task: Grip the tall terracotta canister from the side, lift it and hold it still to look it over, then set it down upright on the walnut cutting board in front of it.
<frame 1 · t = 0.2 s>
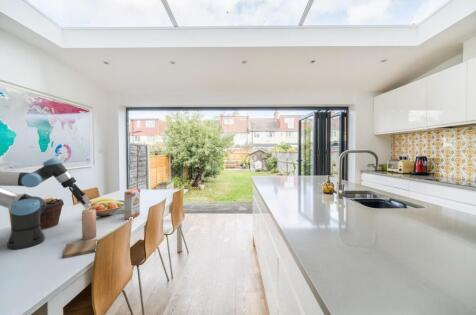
hand: (88, 205, 148), 15 cm above the table, tool tilted 35°, fingers open, 13 cm apart
grey carved relief: (123, 212, 186), on the table
cracker box: (132, 217, 173), on the table
brown tapered bucket: (46, 225, 150), on the table
cutting board: (81, 249, 117), on the table
terracotta canister: (89, 237, 132), on the table
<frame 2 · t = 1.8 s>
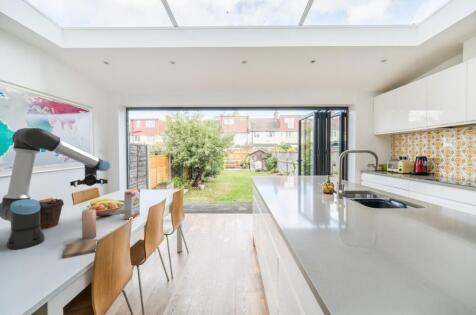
hand: (89, 184, 139), 30 cm above the table, tool horizontal, fingers open, 13 cm apart
nothing on the table moved.
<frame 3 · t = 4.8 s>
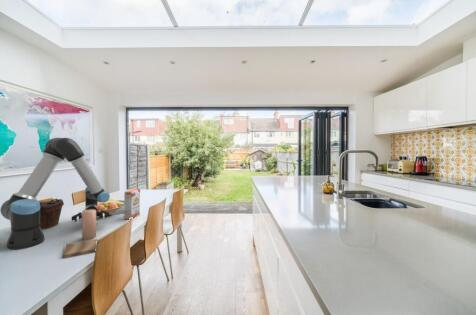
hand: (90, 219, 138), 9 cm above the table, tool horizontal, fingers open, 13 cm apart
nothing on the table moved.
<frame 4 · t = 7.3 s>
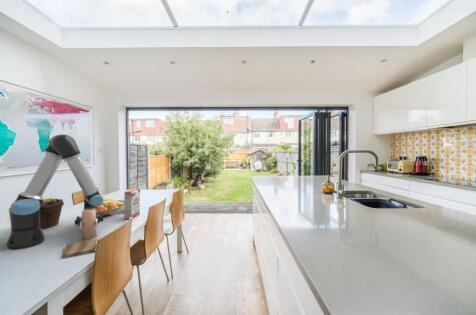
hand: (88, 225, 128), 9 cm above the table, tool horizontal, fingers closed on terracotta canister, 7 cm apart
terracotta canister: (89, 237, 132), on the table, touching gripper
everything else where it was.
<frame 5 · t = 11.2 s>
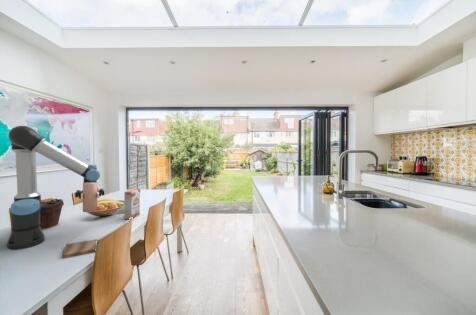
hand: (90, 196, 125), 26 cm above the table, tool horizontal, fingers closed on terracotta canister, 7 cm apart
terracotta canister: (90, 210, 129), point 17 cm above the table, touching gripper
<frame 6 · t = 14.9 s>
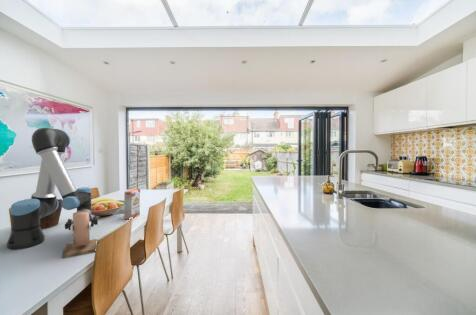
hand: (80, 228, 113), 12 cm above the table, tool horizontal, fingers closed on terracotta canister, 7 cm apart
terracotta canister: (81, 242, 117), point 3 cm above the table, touching gripper
everything else where it was.
when the fingers open (12 cm above the table, at t = 15.4 s): terracotta canister drops 1 cm, resting on cutting board.
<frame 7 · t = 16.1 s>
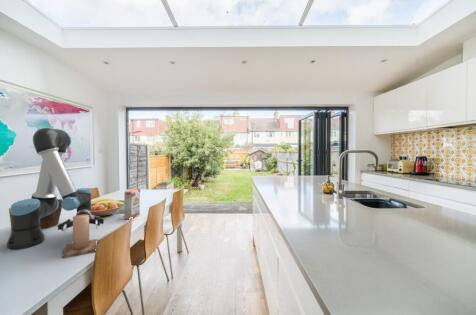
hand: (80, 228, 114), 12 cm above the table, tool horizontal, fingers open, 13 cm apart
terracotta canister: (81, 246, 117), point 1 cm above the table, touching cutting board
everything else where it was.
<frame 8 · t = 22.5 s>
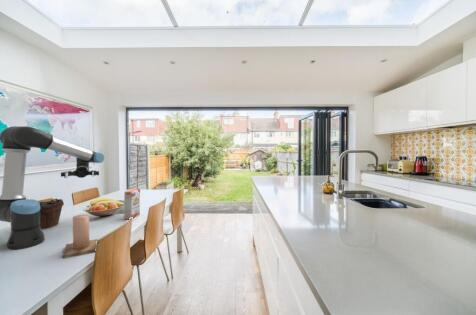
hand: (79, 175, 138), 36 cm above the table, tool horizontal, fingers open, 13 cm apart
at the end: terracotta canister inside the target area on the cutting board (0.0 cm from its centre), point 1.5 cm above the cutting board's base; terracotta canister tilted 0°; the gripper is holding nothing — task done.
